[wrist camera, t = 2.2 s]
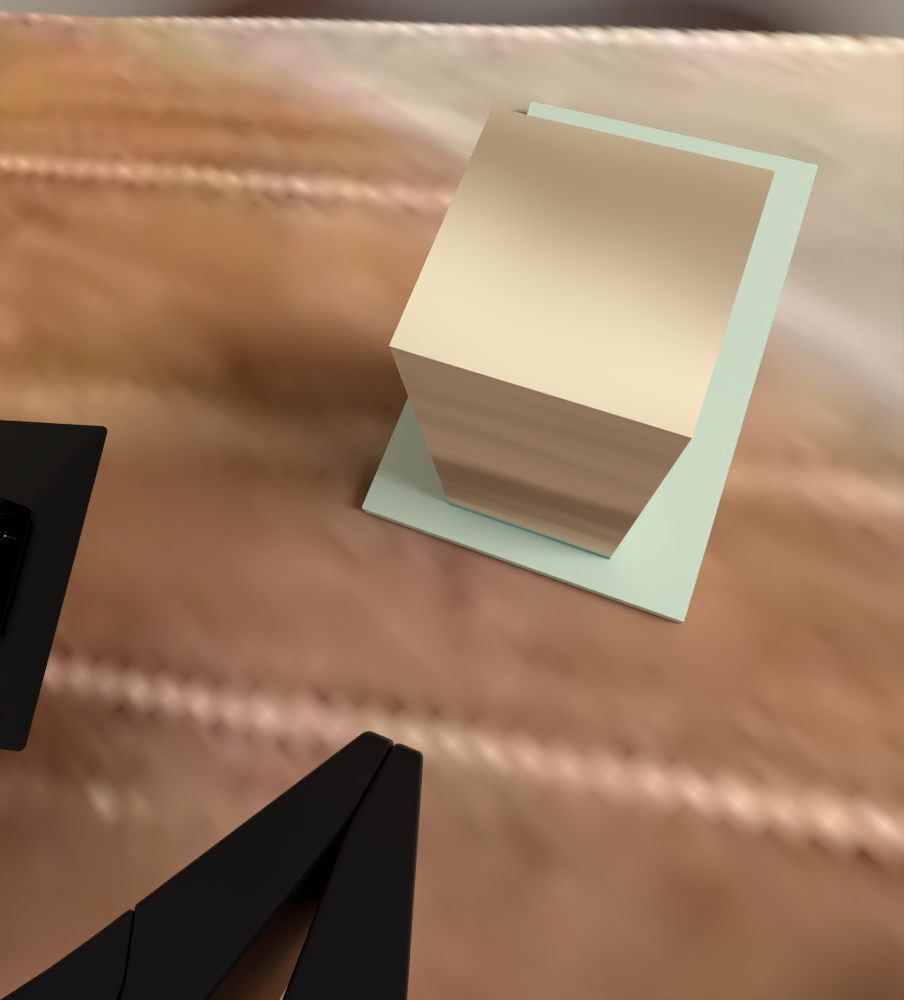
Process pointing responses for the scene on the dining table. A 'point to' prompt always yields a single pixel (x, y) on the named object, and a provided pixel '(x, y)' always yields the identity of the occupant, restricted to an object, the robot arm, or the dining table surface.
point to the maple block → (573, 322)
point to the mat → (697, 472)
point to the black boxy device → (37, 552)
